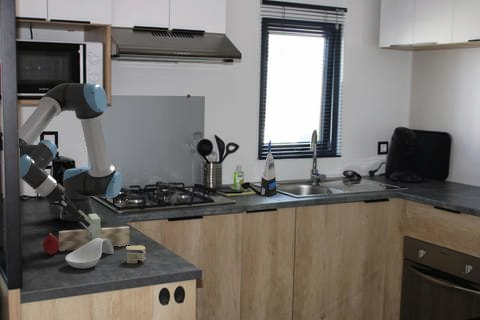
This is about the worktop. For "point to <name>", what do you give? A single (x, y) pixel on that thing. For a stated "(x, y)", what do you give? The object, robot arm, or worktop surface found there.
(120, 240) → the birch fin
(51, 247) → the onion
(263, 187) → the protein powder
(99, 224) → the notched piece
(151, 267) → the worktop surface
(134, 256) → the pale yellow layered block
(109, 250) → the spoon rest
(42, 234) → the worktop surface
